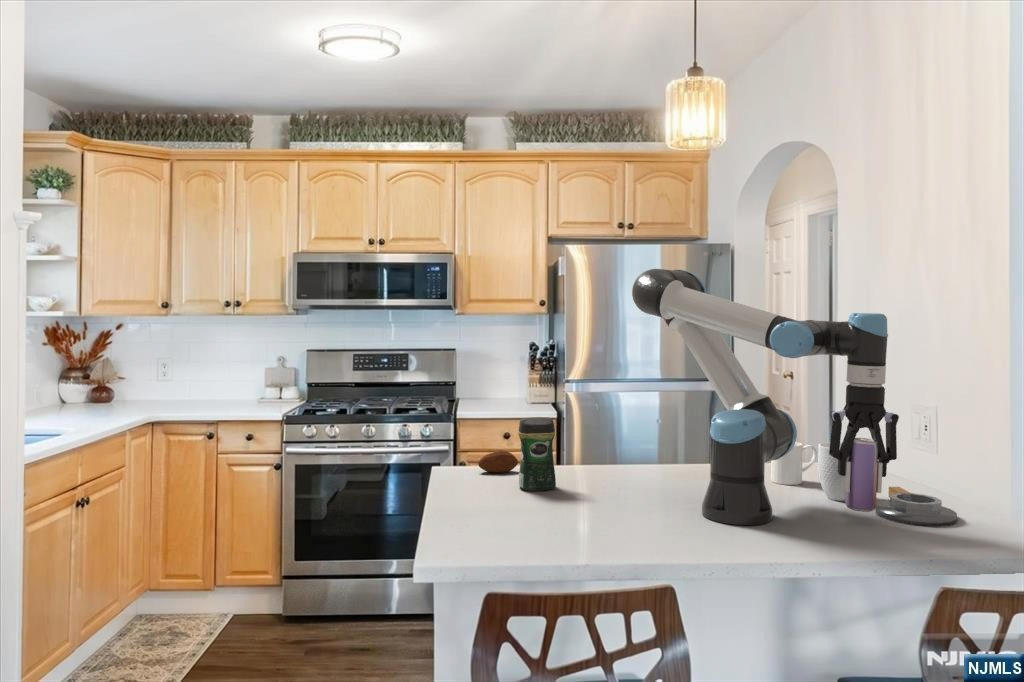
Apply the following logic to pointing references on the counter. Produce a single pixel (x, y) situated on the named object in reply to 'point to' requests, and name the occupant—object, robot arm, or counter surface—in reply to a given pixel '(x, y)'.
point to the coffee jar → (536, 454)
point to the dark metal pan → (915, 509)
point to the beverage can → (863, 475)
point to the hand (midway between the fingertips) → (861, 490)
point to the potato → (498, 462)
